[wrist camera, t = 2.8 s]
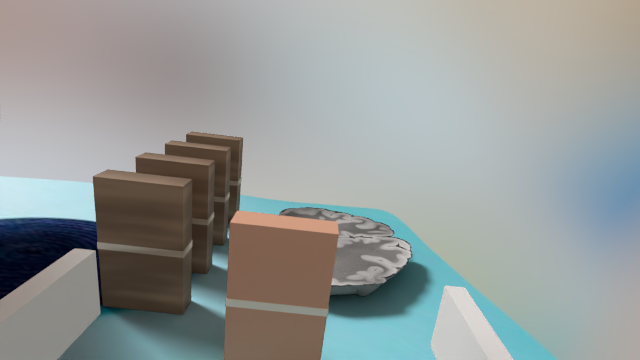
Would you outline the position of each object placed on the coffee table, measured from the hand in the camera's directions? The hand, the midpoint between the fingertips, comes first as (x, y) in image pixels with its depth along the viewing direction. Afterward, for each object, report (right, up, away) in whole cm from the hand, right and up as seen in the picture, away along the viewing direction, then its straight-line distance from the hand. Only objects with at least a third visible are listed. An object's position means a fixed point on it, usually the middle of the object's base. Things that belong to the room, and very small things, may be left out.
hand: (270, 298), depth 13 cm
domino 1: (-14, -7, +19) cm, 24 cm away
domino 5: (-2, -10, +14) cm, 17 cm away
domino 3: (-14, -3, +31) cm, 34 cm away
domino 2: (-14, -5, +25) cm, 29 cm away
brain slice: (+4, -6, +31) cm, 32 cm away
